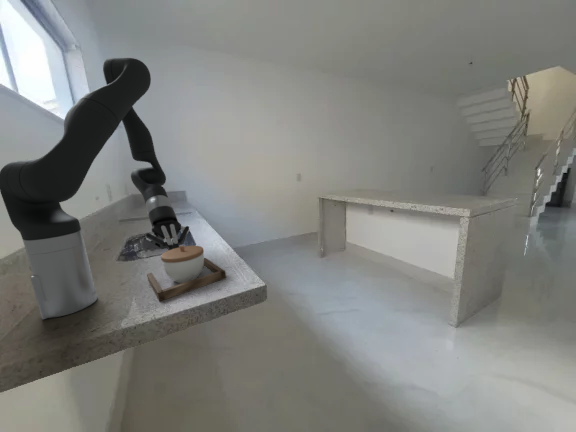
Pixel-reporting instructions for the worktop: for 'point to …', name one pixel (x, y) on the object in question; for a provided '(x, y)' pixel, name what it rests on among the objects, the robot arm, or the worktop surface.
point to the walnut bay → (187, 286)
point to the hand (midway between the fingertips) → (176, 256)
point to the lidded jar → (183, 263)
